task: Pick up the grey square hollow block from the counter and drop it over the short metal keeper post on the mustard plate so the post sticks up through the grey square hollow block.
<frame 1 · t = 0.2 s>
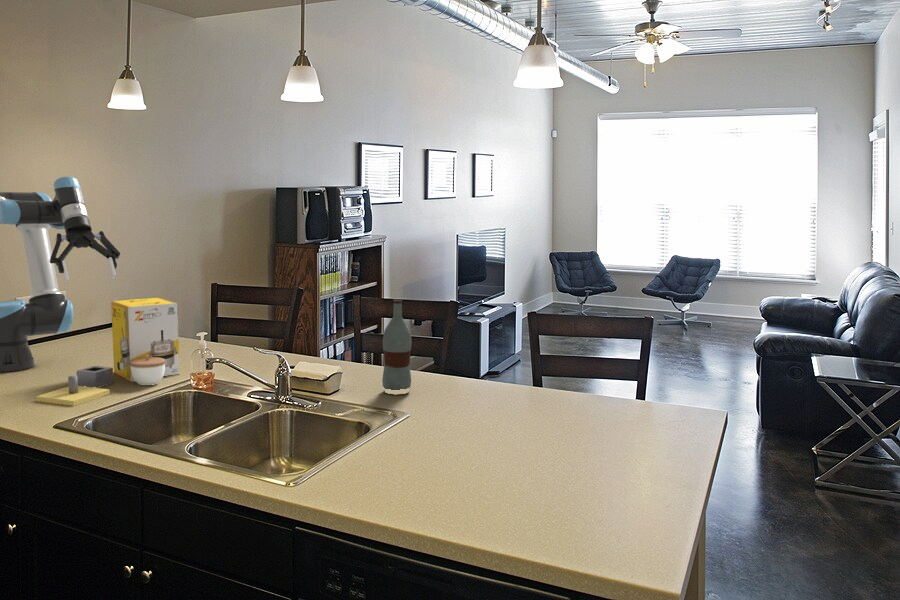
hand: (91, 279, 230), 35 cm above the worktop, tool tilted 35°, fingers open, 13 cm apart
bottle: (396, 392, 238), on the worktop
grey square hollow block: (95, 384, 240), on the worktop
keeper: (73, 397, 224), on the worktop
lidded jar: (148, 384, 242), on the worktop
packaging box: (146, 374, 256), on the worktop
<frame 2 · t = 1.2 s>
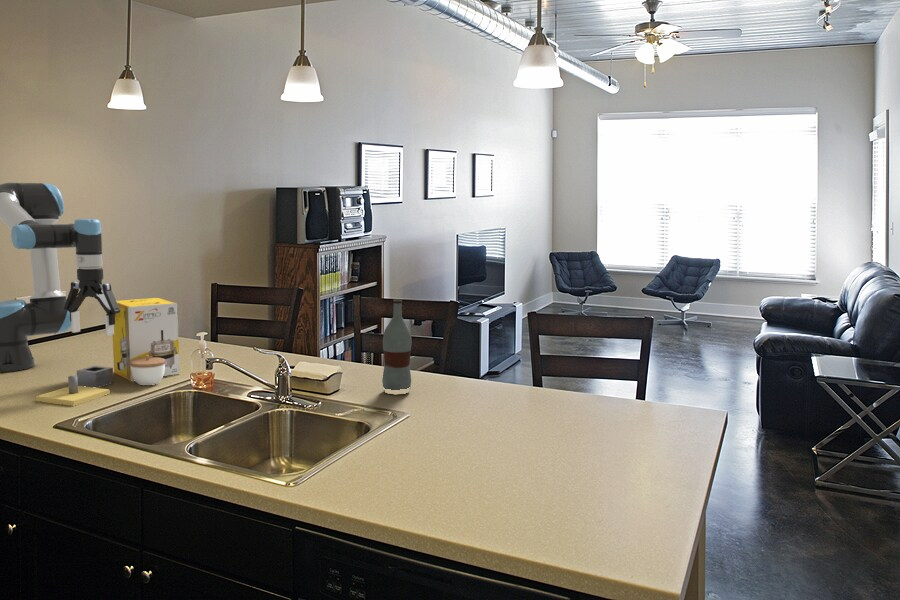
hand: (93, 333, 238), 17 cm above the worktop, tool pointing down, fingers open, 13 cm apart
nothing on the worktop moved.
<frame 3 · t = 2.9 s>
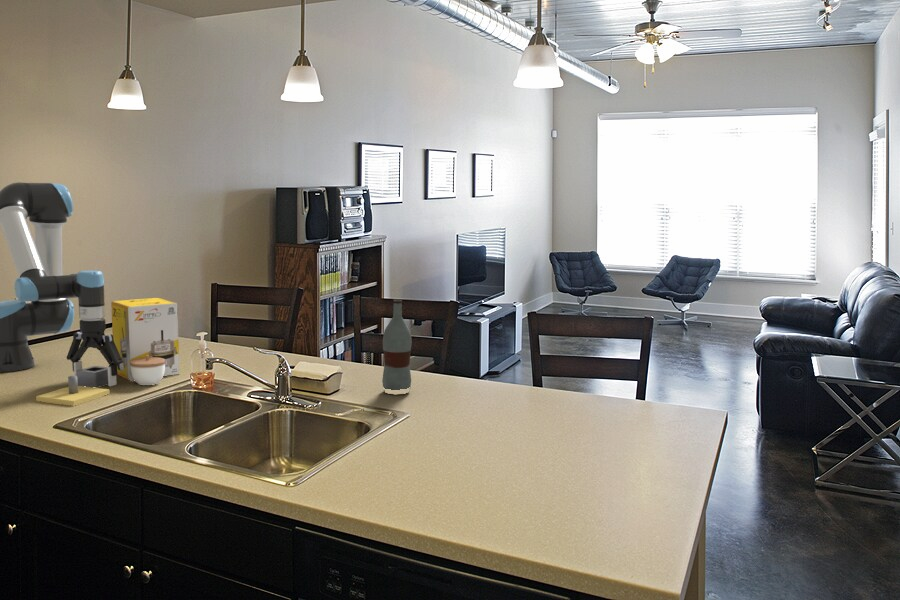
hand: (95, 383, 240), 0 cm above the worktop, tool pointing down, fingers open, 13 cm apart
nothing on the worktop moved.
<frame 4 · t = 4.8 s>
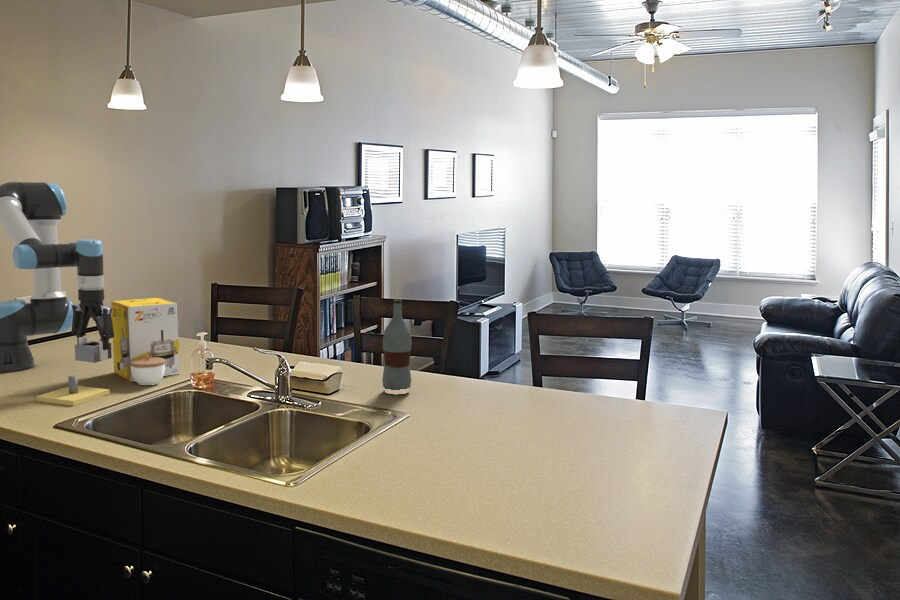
hand: (93, 358, 239), 9 cm above the worktop, tool pointing down, fingers closed on grey square hollow block, 7 cm apart
grey square hollow block: (93, 359, 239), point 8 cm above the worktop, touching gripper
everything else where it was.
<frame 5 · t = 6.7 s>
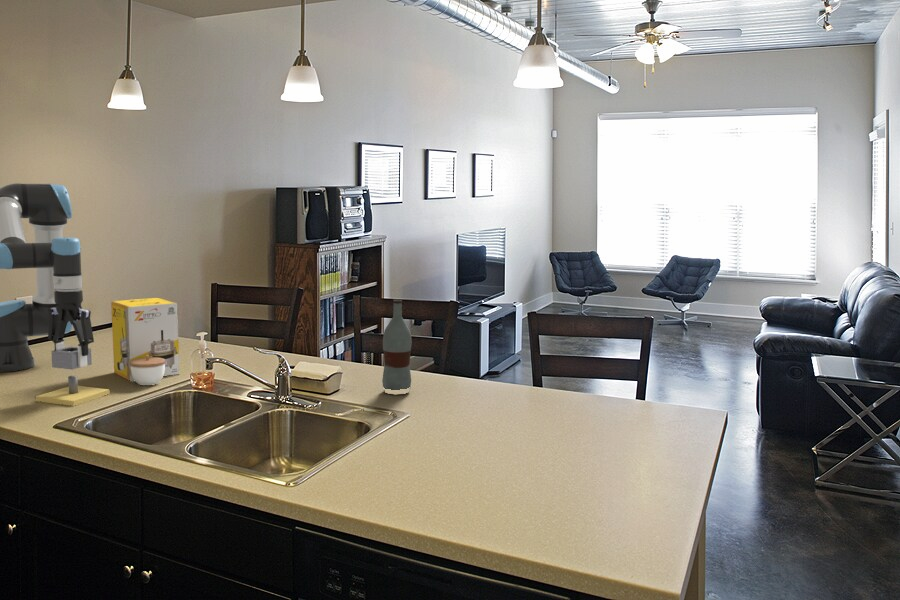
hand: (72, 365, 223), 10 cm above the worktop, tool pointing down, fingers closed on grey square hollow block, 7 cm apart
grey square hollow block: (72, 365, 223), point 10 cm above the worktop, touching gripper
everything else where it was.
when the fingers open (2 cm above the worktop, at t = 8.8 s): grey square hollow block stays where it is, resting on keeper.
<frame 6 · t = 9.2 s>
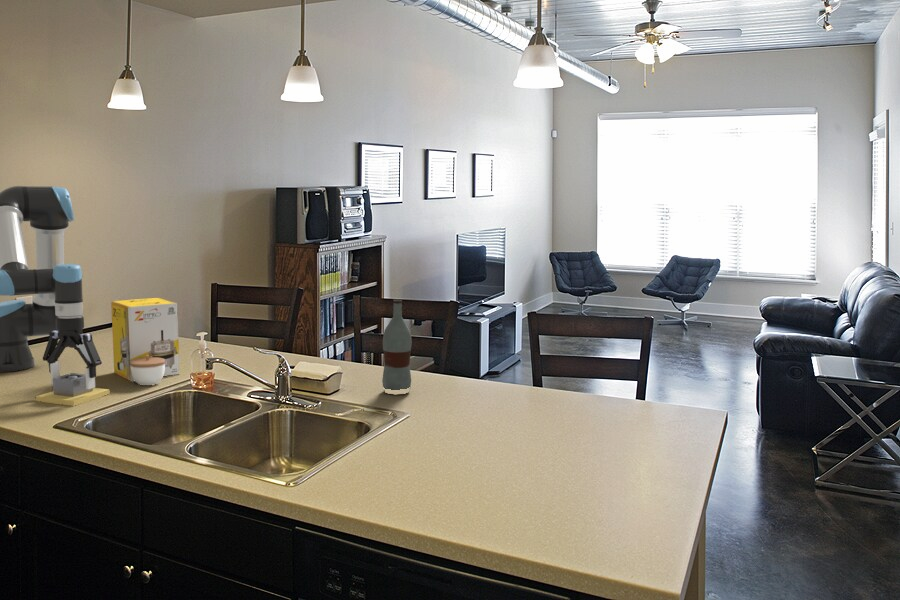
hand: (73, 386, 224), 4 cm above the worktop, tool pointing down, fingers open, 13 cm apart
grey square hollow block: (73, 392, 224), point 1 cm above the worktop, touching keeper
everything else where it was.
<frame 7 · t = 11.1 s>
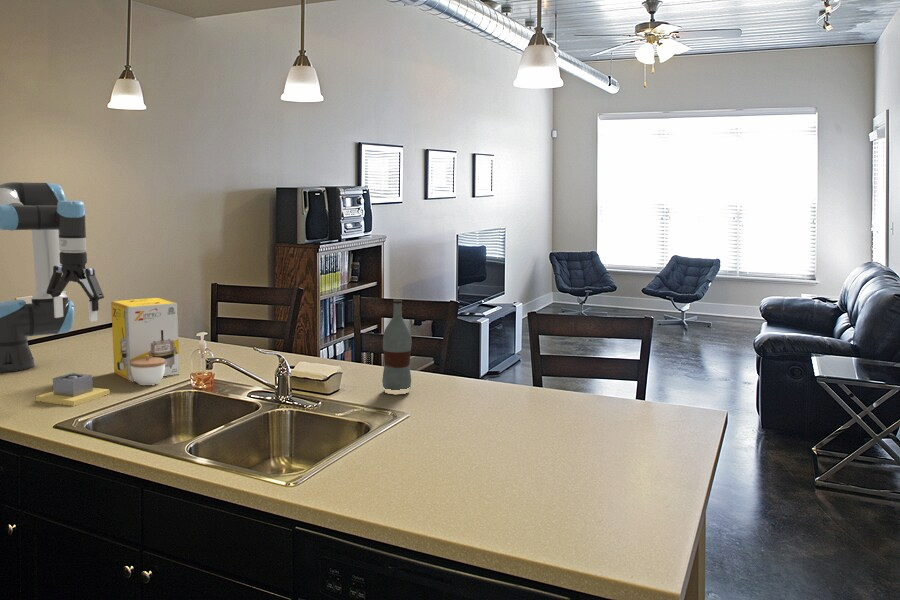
hand: (76, 319, 231), 22 cm above the worktop, tool pointing down, fingers open, 13 cm apart
nothing on the worktop moved.
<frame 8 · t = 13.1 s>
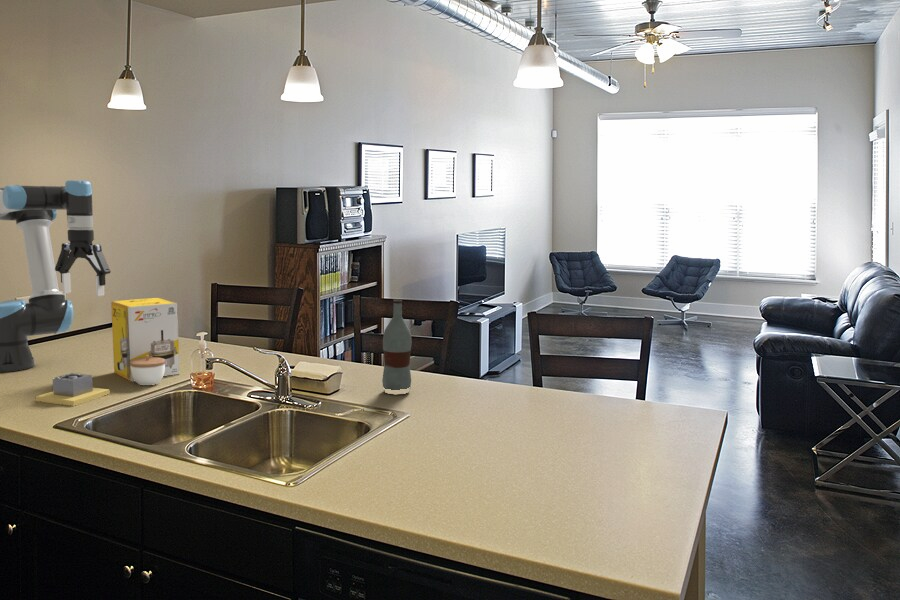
hand: (83, 294, 241), 29 cm above the worktop, tool pointing down, fingers open, 13 cm apart
nothing on the worktop moved.
at the end: grey square hollow block 0.0 cm off-centre on the keeper, point 1.5 cm above the keeper's base; the gripper is holding nothing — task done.
